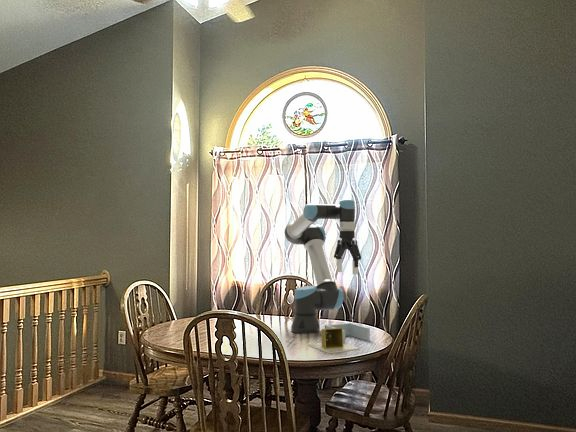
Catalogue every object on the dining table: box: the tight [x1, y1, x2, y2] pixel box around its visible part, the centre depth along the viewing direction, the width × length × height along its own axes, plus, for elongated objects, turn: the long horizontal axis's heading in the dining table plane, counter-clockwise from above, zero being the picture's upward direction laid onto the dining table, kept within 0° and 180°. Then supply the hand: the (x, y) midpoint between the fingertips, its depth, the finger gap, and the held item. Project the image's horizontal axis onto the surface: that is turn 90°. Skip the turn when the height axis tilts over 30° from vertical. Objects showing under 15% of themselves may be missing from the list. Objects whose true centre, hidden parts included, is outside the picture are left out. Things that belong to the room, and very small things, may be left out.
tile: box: [307, 342, 360, 354], centre depth 239 cm, size 18×16×1 cm
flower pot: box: [320, 328, 343, 349], centre depth 239 cm, size 9×9×9 cm
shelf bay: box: [324, 322, 371, 344], centre depth 257 cm, size 16×15×6 cm
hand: (347, 273), depth 263 cm, fingers open, 13 cm apart
